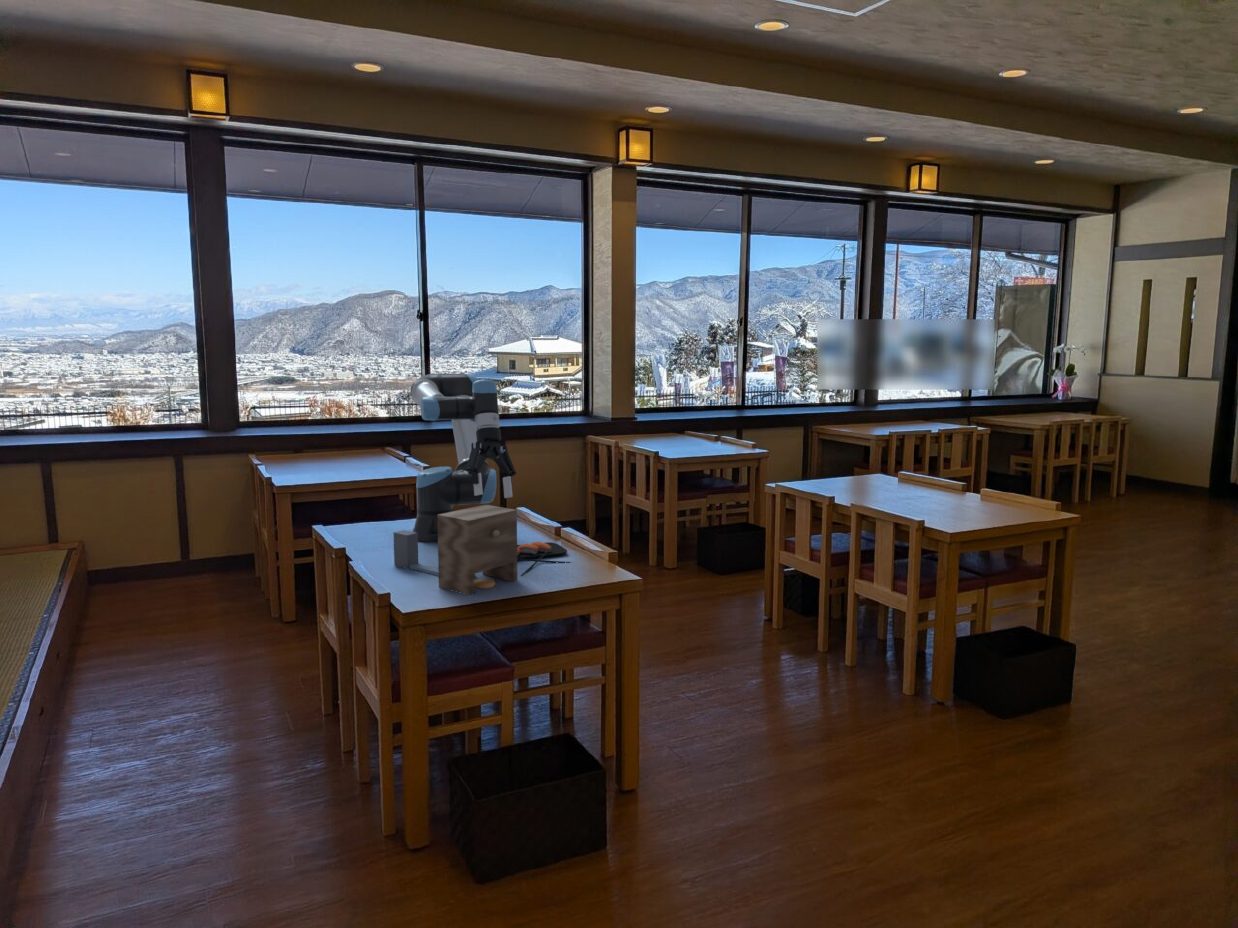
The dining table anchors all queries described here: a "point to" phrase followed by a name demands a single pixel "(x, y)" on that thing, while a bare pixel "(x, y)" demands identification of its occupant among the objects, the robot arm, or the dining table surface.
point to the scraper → (409, 552)
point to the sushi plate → (539, 552)
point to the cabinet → (476, 546)
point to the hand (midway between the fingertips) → (493, 496)
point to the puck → (484, 583)
